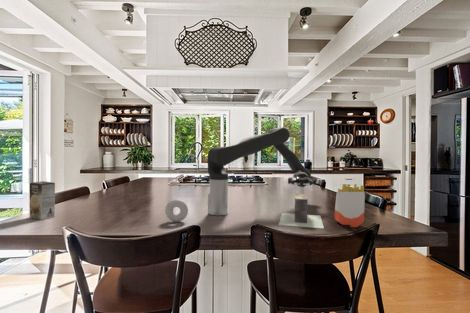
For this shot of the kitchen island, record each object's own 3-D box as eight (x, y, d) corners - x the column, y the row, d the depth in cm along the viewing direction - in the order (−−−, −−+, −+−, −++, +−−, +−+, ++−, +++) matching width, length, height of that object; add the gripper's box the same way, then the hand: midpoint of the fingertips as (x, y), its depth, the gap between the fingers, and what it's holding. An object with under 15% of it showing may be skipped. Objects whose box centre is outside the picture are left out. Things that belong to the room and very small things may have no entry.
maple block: (294, 222, 118) (295, 199, 118) (295, 214, 131) (295, 194, 131) (307, 223, 117) (307, 199, 116) (306, 215, 130) (307, 194, 130)
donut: (164, 222, 119) (164, 199, 118) (166, 220, 122) (166, 198, 122) (187, 223, 118) (187, 200, 118) (188, 221, 122) (188, 198, 122)
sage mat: (278, 227, 114) (278, 224, 114) (282, 215, 135) (282, 213, 135) (323, 230, 109) (323, 228, 109) (320, 217, 131) (320, 215, 131)
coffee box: (28, 217, 124) (28, 182, 124) (43, 214, 130) (43, 181, 130) (41, 220, 121) (40, 183, 120) (55, 217, 126) (55, 182, 126)
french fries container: (334, 224, 120) (335, 182, 119) (358, 224, 120) (359, 183, 119) (338, 226, 115) (339, 184, 114) (364, 227, 115) (365, 184, 115)
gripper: (289, 172, 156) (287, 175, 140) (315, 172, 152) (316, 175, 137) (289, 185, 156) (287, 189, 140) (315, 186, 153) (316, 190, 137)
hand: (301, 182), depth 138 cm, fingers open, 8 cm apart
